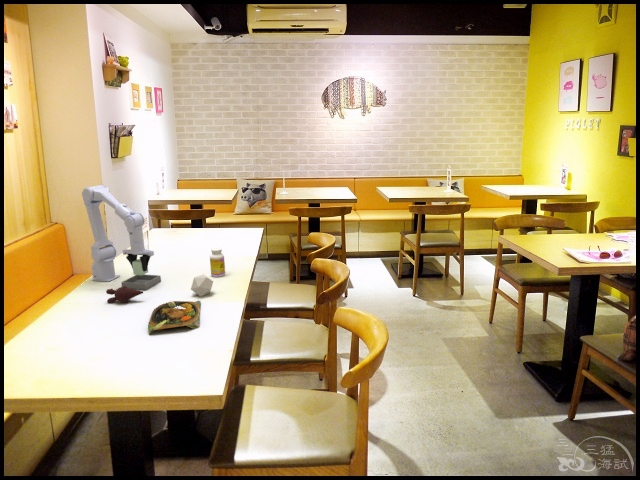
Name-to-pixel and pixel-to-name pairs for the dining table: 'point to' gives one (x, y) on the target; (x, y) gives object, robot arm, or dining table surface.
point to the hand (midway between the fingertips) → (140, 270)
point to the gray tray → (141, 282)
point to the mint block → (138, 268)
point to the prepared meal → (175, 315)
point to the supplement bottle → (217, 263)
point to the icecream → (122, 294)
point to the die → (202, 285)
